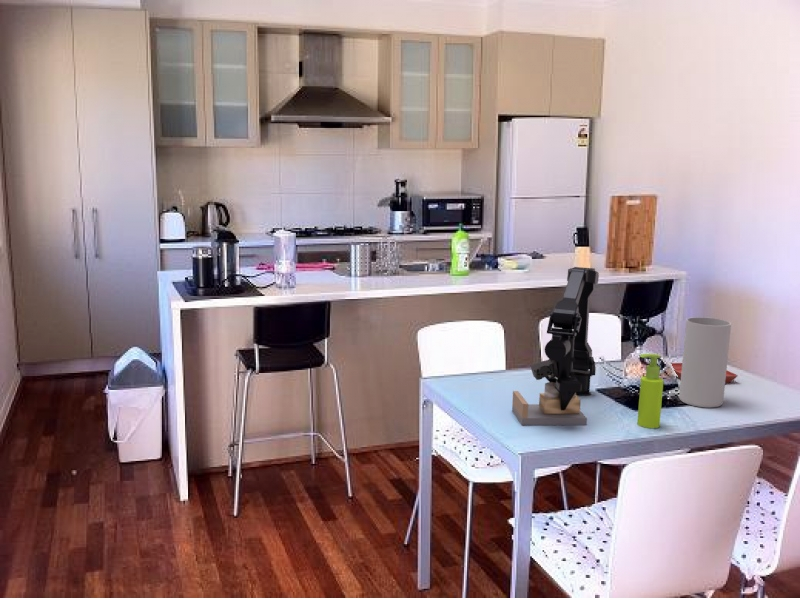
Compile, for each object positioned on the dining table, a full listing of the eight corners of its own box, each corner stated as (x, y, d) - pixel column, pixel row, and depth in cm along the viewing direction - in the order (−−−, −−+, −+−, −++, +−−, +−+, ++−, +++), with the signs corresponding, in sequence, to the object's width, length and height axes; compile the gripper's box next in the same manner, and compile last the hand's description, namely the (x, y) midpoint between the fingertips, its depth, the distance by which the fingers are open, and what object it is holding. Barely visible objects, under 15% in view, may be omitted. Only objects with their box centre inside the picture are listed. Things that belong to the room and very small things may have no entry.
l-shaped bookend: (573, 410, 224) (574, 390, 223) (586, 424, 213) (587, 403, 212) (512, 411, 223) (513, 390, 222) (521, 425, 211) (522, 404, 210)
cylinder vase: (731, 404, 234) (740, 323, 229) (704, 410, 227) (713, 327, 223) (696, 393, 244) (704, 315, 240) (670, 399, 238) (677, 319, 233)
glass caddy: (573, 406, 221) (575, 381, 220) (579, 413, 215) (581, 387, 214) (538, 406, 220) (540, 381, 219) (544, 413, 214) (545, 387, 213)
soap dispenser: (630, 421, 217) (636, 351, 213) (654, 421, 217) (660, 351, 214) (638, 428, 211) (644, 357, 207) (663, 428, 211) (669, 357, 208)
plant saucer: (660, 371, 270) (661, 362, 270) (707, 370, 274) (708, 361, 273) (687, 386, 253) (688, 377, 252) (738, 385, 256) (739, 375, 255)
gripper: (526, 344, 223) (523, 396, 226) (543, 361, 205) (539, 417, 208) (564, 344, 224) (560, 396, 227) (584, 361, 206) (580, 417, 209)
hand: (559, 406), depth 218 cm, fingers closed on glass caddy, 6 cm apart
